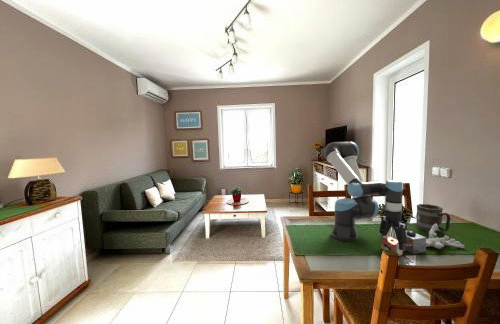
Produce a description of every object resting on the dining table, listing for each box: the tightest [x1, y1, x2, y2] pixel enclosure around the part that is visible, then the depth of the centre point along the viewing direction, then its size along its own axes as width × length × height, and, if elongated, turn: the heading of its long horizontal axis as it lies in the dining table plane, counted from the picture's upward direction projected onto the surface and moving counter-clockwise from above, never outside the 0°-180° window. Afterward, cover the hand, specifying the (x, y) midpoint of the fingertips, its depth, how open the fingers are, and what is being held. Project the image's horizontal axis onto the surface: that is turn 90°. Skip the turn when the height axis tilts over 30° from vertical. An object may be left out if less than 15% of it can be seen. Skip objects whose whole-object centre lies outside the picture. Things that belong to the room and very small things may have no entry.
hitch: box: [383, 229, 427, 255], centre depth 118 cm, size 20×10×10 cm, turn 102°
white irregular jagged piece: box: [426, 224, 465, 250], centre depth 124 cm, size 19×8×20 cm
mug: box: [415, 203, 451, 233], centre depth 143 cm, size 20×14×15 cm
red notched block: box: [380, 236, 404, 255], centre depth 117 cm, size 6×8×6 cm
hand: (392, 250), depth 117 cm, fingers closed on red notched block, 8 cm apart
